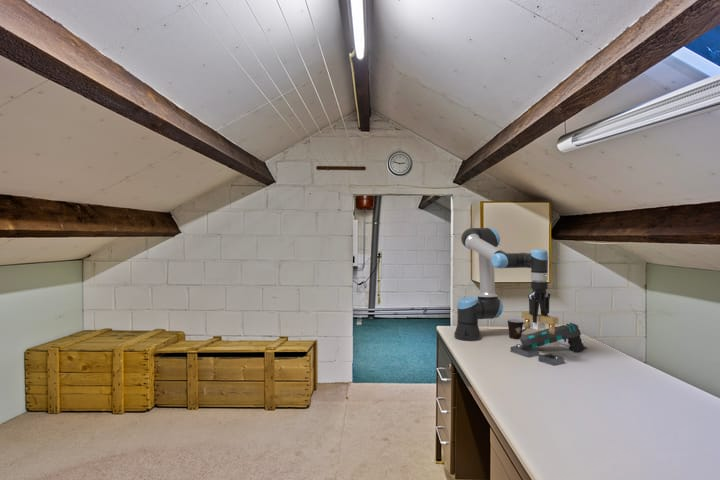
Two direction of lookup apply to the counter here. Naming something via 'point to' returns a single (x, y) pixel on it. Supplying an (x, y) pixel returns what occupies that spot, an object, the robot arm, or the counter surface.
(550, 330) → the gold bar
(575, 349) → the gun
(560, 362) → the chain end
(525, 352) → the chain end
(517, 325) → the coffee mug
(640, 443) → the counter surface
